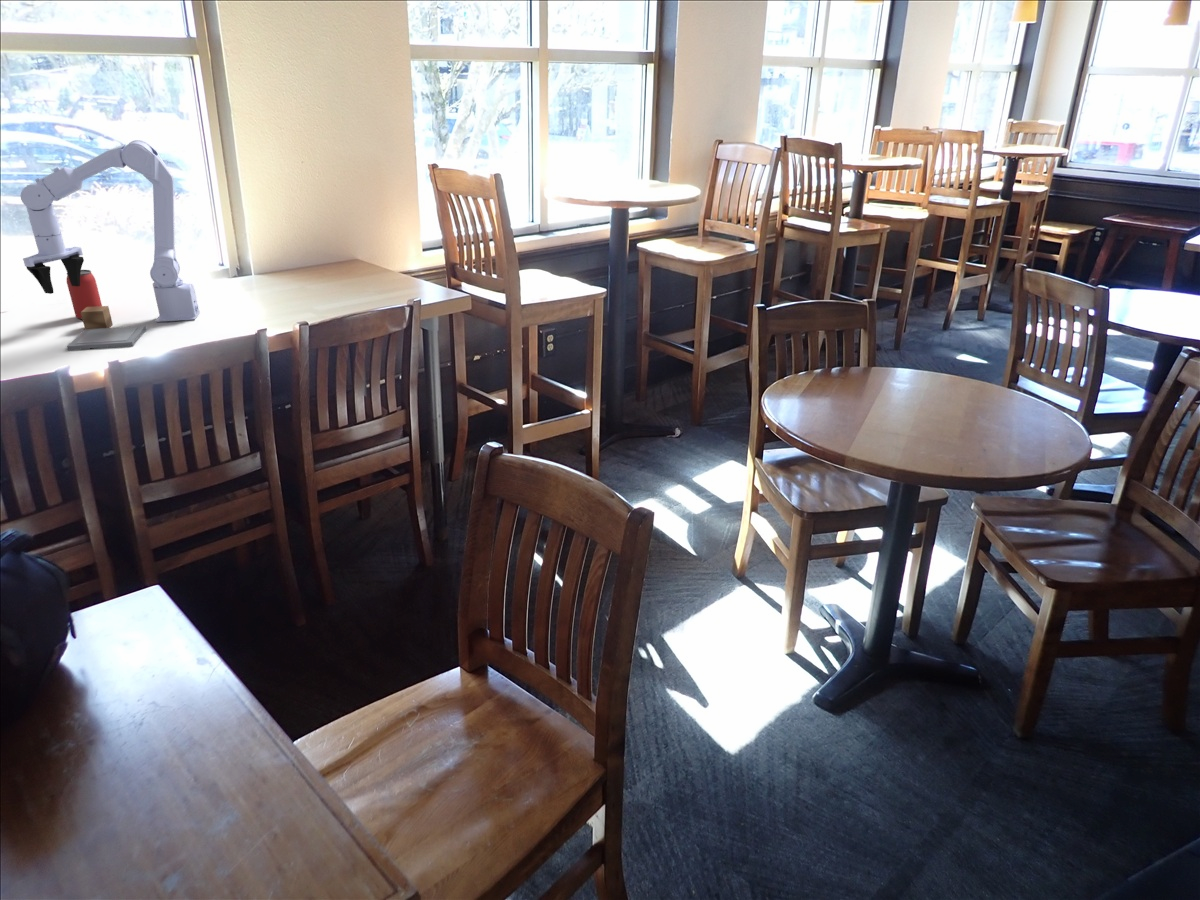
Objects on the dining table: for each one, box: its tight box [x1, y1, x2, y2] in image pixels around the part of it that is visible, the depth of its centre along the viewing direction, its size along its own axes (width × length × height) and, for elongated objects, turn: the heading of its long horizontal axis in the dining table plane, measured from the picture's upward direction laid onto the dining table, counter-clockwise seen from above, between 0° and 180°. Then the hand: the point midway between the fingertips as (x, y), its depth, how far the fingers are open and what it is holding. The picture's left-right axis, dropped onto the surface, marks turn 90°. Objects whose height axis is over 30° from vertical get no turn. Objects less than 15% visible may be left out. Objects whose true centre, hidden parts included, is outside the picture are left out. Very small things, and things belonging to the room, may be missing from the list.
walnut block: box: [81, 305, 114, 329], centre depth 213 cm, size 5×5×5 cm
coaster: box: [66, 325, 147, 351], centre depth 204 cm, size 14×14×1 cm
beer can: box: [66, 269, 103, 320], centre depth 220 cm, size 7×7×12 cm
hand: (62, 289), depth 210 cm, fingers open, 7 cm apart
